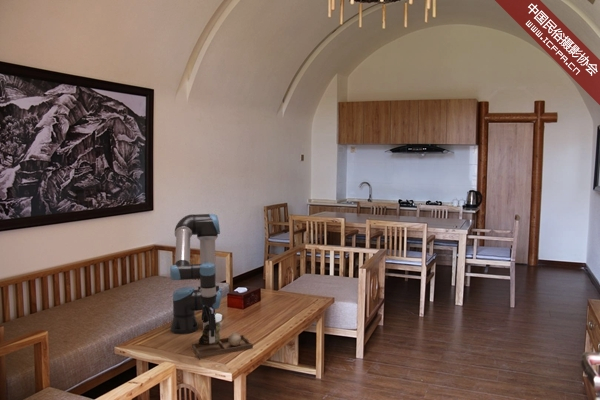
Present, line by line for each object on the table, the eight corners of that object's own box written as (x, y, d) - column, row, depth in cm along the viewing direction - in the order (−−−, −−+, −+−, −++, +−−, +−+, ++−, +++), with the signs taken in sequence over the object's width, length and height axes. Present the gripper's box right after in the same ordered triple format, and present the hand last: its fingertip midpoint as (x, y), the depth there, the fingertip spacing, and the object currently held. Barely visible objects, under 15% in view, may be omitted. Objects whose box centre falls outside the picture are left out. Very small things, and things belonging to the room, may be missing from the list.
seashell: (196, 341, 247) (196, 322, 246) (219, 338, 250) (218, 319, 249) (199, 349, 237) (198, 329, 236) (222, 346, 240) (222, 326, 239)
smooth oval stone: (226, 344, 251) (226, 332, 251) (238, 342, 254) (238, 329, 254) (230, 349, 245) (230, 336, 245) (243, 346, 248) (242, 334, 248)
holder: (191, 349, 247) (191, 344, 247) (243, 339, 259) (243, 334, 259) (199, 360, 235) (199, 354, 234) (252, 349, 247) (252, 344, 246)
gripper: (194, 290, 249) (195, 332, 252) (207, 302, 229) (208, 348, 231) (209, 288, 253) (210, 330, 255) (222, 300, 233) (223, 345, 235)
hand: (209, 338), depth 243 cm, fingers closed on seashell, 10 cm apart
